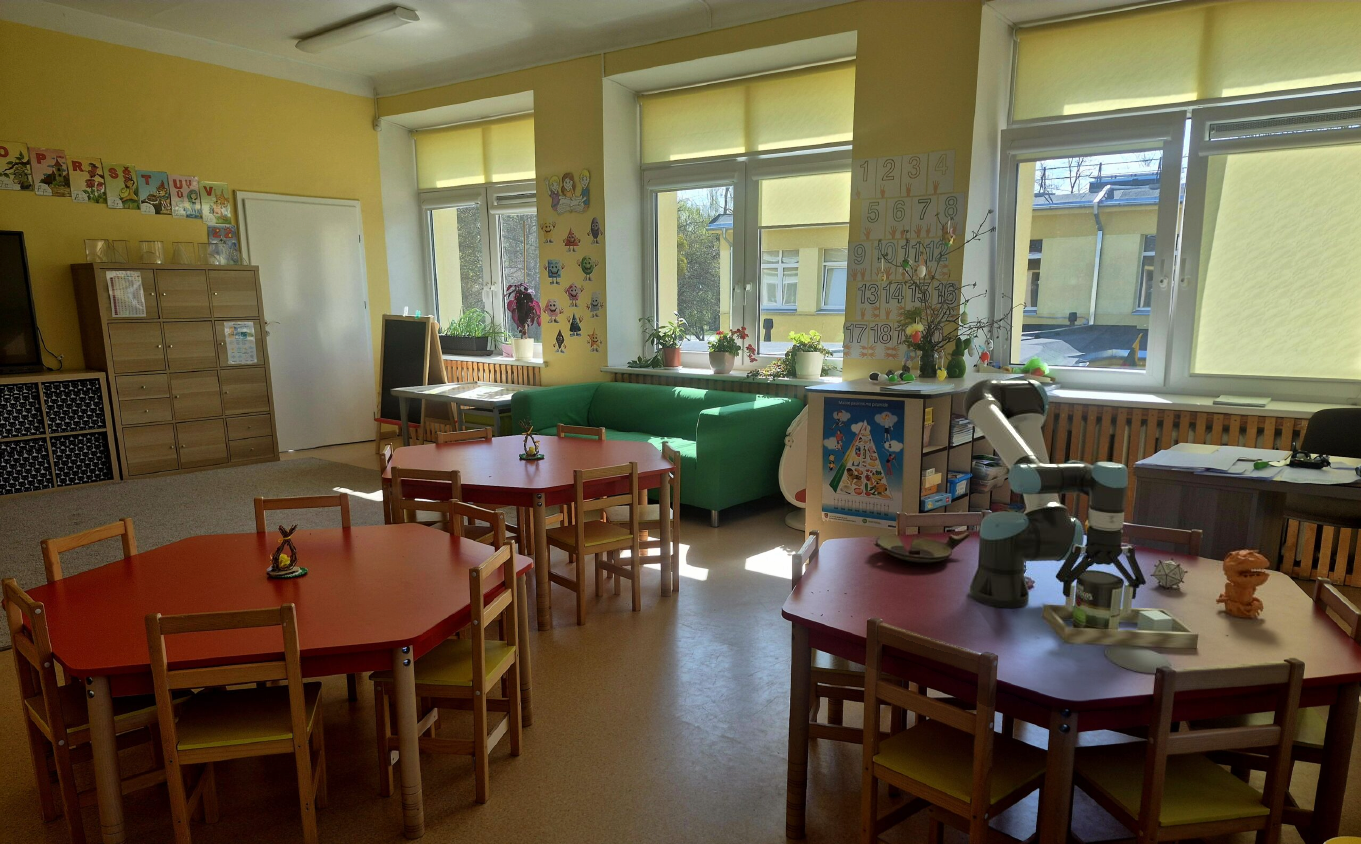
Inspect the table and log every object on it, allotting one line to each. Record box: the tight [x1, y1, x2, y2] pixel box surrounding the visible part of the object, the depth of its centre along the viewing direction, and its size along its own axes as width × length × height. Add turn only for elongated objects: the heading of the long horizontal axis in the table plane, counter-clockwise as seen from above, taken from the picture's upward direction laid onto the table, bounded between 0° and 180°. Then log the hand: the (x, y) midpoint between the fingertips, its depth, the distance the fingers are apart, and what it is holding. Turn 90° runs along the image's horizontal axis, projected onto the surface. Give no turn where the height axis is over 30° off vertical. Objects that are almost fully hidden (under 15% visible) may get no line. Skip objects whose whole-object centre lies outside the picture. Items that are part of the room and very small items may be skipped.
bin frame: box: [1041, 604, 1200, 649], centre depth 191 cm, size 30×15×4 cm, turn 85°
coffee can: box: [1071, 569, 1125, 630], centre depth 191 cm, size 10×10×14 cm
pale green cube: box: [1136, 610, 1173, 632], centre depth 191 cm, size 5×5×5 cm
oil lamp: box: [874, 532, 971, 564], centre depth 243 cm, size 22×30×8 cm
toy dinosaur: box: [1215, 549, 1271, 619], centre depth 202 cm, size 11×11×18 cm
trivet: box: [1104, 645, 1172, 675], centre depth 177 cm, size 13×13×1 cm
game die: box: [1149, 557, 1189, 591], centre depth 221 cm, size 9×8×10 cm
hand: (1097, 610), depth 191 cm, fingers open, 13 cm apart
